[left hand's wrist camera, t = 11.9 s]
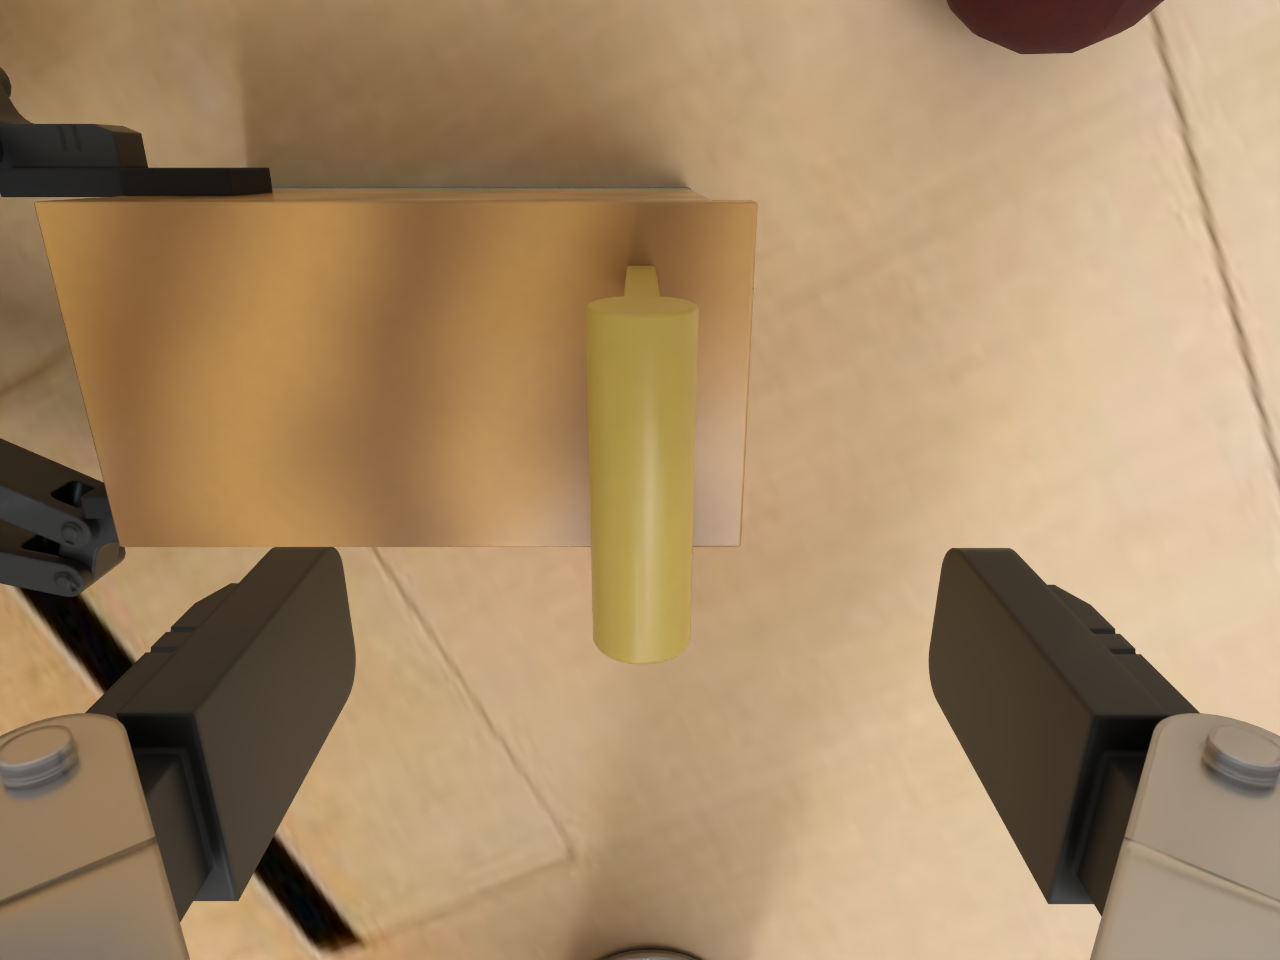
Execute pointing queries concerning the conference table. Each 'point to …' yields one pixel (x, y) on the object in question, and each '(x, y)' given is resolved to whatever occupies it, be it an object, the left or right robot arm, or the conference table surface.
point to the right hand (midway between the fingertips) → (277, 347)
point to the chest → (446, 194)
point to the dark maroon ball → (1049, 21)
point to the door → (422, 379)
